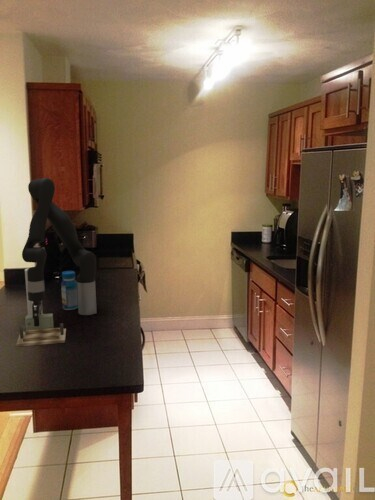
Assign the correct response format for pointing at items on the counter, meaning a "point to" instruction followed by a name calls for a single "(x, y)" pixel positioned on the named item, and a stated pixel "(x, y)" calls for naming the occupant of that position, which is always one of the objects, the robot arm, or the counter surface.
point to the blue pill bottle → (69, 291)
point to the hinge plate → (62, 339)
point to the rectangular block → (44, 322)
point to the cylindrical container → (29, 303)
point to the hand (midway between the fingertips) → (38, 322)
